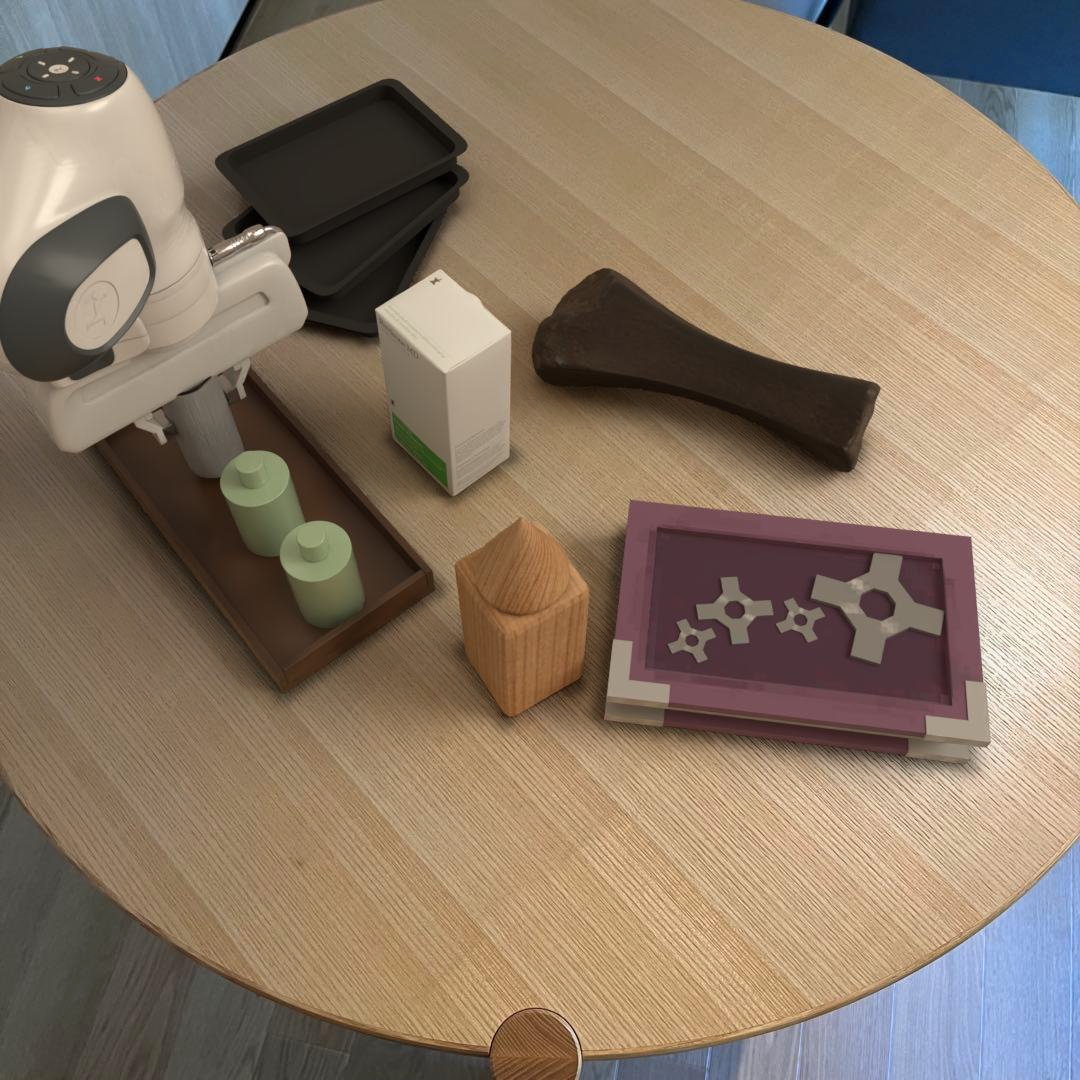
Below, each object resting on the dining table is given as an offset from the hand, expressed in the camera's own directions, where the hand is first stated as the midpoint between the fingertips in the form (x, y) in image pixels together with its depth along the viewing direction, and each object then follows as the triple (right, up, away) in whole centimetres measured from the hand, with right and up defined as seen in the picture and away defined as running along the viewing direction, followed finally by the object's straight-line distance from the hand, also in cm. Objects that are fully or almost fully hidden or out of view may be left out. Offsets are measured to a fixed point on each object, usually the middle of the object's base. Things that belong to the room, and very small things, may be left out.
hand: (199, 416), depth 85 cm
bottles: (+8, -11, +1) cm, 14 cm away
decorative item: (+25, -19, -3) cm, 31 cm away
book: (+44, -17, -2) cm, 47 cm away
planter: (0, -3, +4) cm, 5 cm away
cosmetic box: (+19, -2, +8) cm, 20 cm away
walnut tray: (+3, -7, +4) cm, 9 cm away
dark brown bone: (+39, +3, +11) cm, 41 cm away
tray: (+7, +21, +22) cm, 31 cm away
